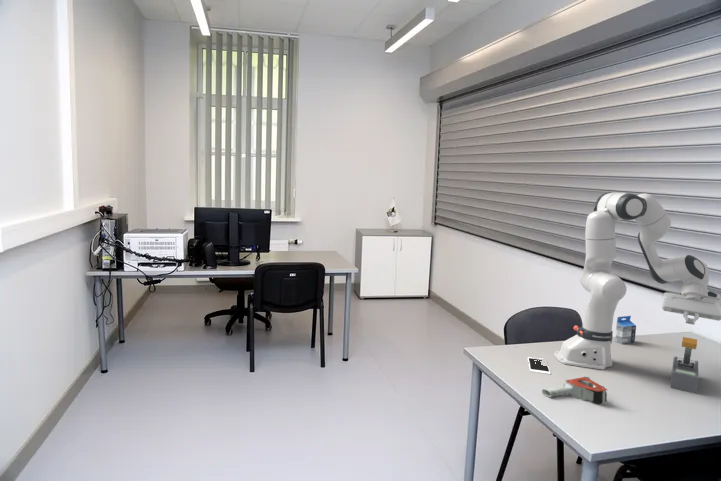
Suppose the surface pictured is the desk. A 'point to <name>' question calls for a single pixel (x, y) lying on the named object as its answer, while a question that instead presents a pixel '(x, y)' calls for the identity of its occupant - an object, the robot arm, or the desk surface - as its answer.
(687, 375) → the block
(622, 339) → the label tape box
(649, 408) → the desk surface
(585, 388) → the tape dispenser
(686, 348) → the lever
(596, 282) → the robot arm
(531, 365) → the cell phone
